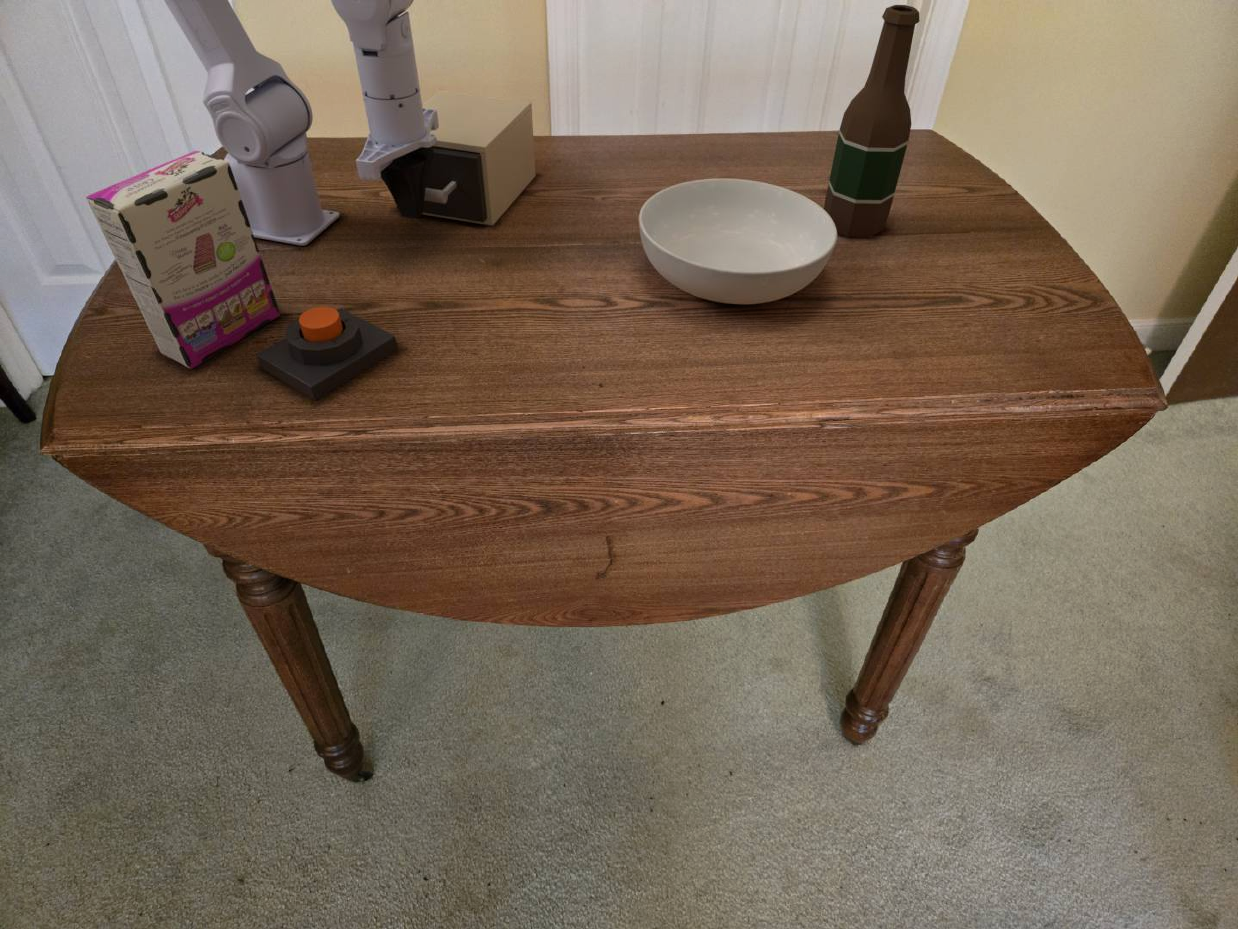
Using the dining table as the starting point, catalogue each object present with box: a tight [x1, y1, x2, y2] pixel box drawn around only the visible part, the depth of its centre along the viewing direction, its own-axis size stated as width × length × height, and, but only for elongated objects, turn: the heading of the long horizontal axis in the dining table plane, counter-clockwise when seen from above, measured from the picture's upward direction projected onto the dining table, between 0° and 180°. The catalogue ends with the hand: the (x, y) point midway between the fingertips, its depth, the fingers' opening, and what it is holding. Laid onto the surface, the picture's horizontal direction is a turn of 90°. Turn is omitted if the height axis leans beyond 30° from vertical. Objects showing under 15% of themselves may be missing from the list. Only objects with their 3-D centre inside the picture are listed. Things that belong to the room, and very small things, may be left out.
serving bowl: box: [638, 178, 838, 305], centre depth 89 cm, size 21×21×7 cm
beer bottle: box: [823, 4, 920, 239], centre depth 92 cm, size 8×8×24 cm
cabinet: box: [397, 89, 536, 227], centre depth 102 cm, size 15×13×10 cm
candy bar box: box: [85, 150, 281, 370], centre depth 76 cm, size 11×5×16 cm, turn 148°
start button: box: [298, 306, 343, 342], centre depth 76 cm, size 4×4×2 cm
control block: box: [256, 308, 399, 402], centre depth 78 cm, size 10×8×4 cm
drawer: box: [396, 146, 487, 222], centre depth 99 cm, size 18×11×8 cm, turn 163°
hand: (412, 215), depth 92 cm, fingers closed
